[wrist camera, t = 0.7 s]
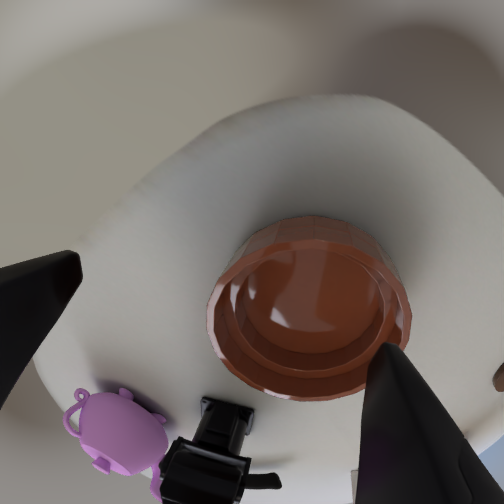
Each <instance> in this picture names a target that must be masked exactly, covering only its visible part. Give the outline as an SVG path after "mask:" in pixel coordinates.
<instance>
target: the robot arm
mask: <svg viewBox="0 0 504 504" xmlns="http://www.w3.org/2000/svg"><path fill="white" fill-rule="evenodd" d="M82 279H83V273H82V267H81V261H80V256H79V254H78V253H76V252H74V251H71V250H65V251H61V252H57V253H53V254H49V255H46V256H42V257H38V258H34V259H31V260H27V261H23V262H20V263H16V264H13V265H10V266H6V267H2V268H0V410H1V408H2V406H3V404H4V402H5V401H6V399H7V397H8V395H9V394H10V392H11V390H12V389H13V387H14V385H15V384H16V382H17V380H18V379H19V377H20V375H21V374H22V372H23V371H24V369H25V367H26V366H27V364H28V363H29V361H30V359H31V358H32V357H33V355H34V354H35V352H36V351H37V349H38V348H39V346H40V345H41V343H42V342H43V340H44V339H45V337H46V336H47V335H48V333H49V332H50V330H51V329H52V328H53V326H54V325H55V323H56V322H57V320H58V319H59V318H60V316H61V314H62V313H63V311H64V309H65V308H66V306H67V304H68V303H69V301H70V300H71V298H72V296H73V295H74V293H75V292H76V290H77V289H78V287H79V285H80V284H81V282H82ZM201 416H202V419H201V421H200V423H199V426H198V428H197V431H196V433H195V435H194V438H193V440H192V441H189V440H186V439H184V438H183V437H180V436H179V437H178V439H177V440H174V441H173V443H172V445H171V447H170V449H169V451H168V452H167V454H166V455H165V456H164V457H163V459H162V460H161V461H160V462H159V465H158V467H159V469H160V477H159V478H160V480H161V481H162V483H161V485H160V488H159V490H160V495H161V499H162V503H163V504H239V503H240V501H241V498H242V495H243V493H244V489H245V486H246V482H247V477H248V473H249V468H250V464H251V459H252V458H249V457H247V458H246V457H242V456H239V454H240V451H241V448H242V444H243V441H244V437H245V435H246V436H247V435H249V433H250V429H251V425H252V420H253V416H254V410H253V409H251V408H246V407H242V406H238V405H233V404H229V403H225V402H222V401H218V400H214V399H210V398H207V397H202V399H201ZM355 504H504V492H503V490H502V489H501V488H500V486H499V485H498V483H497V482H496V481H495V480H494V478H493V477H492V476H491V474H490V473H489V472H488V470H487V469H486V467H485V466H484V465H483V463H482V462H481V461H480V459H479V458H478V456H477V455H476V453H475V452H474V450H473V449H472V447H471V446H470V444H469V443H468V441H467V440H466V439H465V438H464V435H463V434H462V432H461V431H460V429H459V428H458V426H457V425H456V423H455V422H454V421H453V419H452V418H451V416H450V415H449V413H448V412H447V411H446V409H445V408H444V406H443V405H442V403H441V402H440V401H439V399H438V398H437V396H436V395H435V394H434V392H433V391H432V390H431V388H430V387H429V385H428V384H427V383H426V381H425V380H424V379H423V377H422V376H421V375H420V373H419V372H418V371H417V369H416V368H415V367H414V365H413V364H412V363H411V361H410V360H409V359H408V357H407V356H406V355H405V354H404V352H403V351H402V350H401V348H400V347H399V346H398V345H397V344H395V343H390V342H383V343H382V344H381V345H380V346H379V348H378V349H377V351H376V353H375V354H374V356H373V357H372V359H371V360H370V362H369V365H368V368H367V377H366V386H365V394H364V402H363V409H362V419H361V439H360V455H359V468H358V479H357V489H356V497H355Z"/></svg>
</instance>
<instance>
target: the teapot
mask: <svg viewBox="0 0 504 504" xmlns="http://www.w3.org/2000/svg"><path fill="white" fill-rule="evenodd" d="M79 394H83V395H84V398H83V399H81V398H80V397H79ZM74 397H75V399H76V400H77V401H79V402H78V403H76V404H75V405H73V406H72V407H70V408H69V409H68V410H67V411H66V412H65V414H64V416H63V423H64V426H65V428H66V429H67V431H68V432H69V433H70V434H72V435H73V436H75V437H79V439H80V445H81V447H82V448H83V450H84V451H85V452H86V453H88V454H89V455H90V456H91V457H92V458H94V459H95V461H93V462H92V465H93V466H94V467H95V468H96V469H98V470H100V471H101V472H103V473H105V474H109V473H110V469H111V470H113V471H115V472H117V473H120V474H122V475H126V476H131V475H134V474H137V473H139V472H141V471H143V470H145V469H147V468H149V467H150V466H151V468H152V471H153V478H152V481H151V485H150V490H151V493H152V495H153V496H154V497H155V498H156V499H157V500H159V501H160V502H161V503H162V499H161V495H160V490H159V488H160V485H161V483H162V481H161V480H160V478H159V477H160V469H159V467H158V465H159V462H160V461H161V460H162V459H163V457H164V456H165V454H164V453H165V452H166V450H167V448H168V438H167V435H166V433H165V430H164V428H163V426H162V425H161V424H163V423H165V422H166V419H165V418H164V417H163V416H162V415H160V414H157V413H152V414H151V413H149V412H148V411H147V410H145V409H144V408H142V407H141V406H139V405H138V404H136V403H135V402H133V399H134V396H133V394H132V393H131V392H130V391H128V390H127V389H125V388H120V389H119V395H118V394H115V393H110V392H104V393H96V394H92V395H90V394H89V392H88V391H87V390H85V389H82V388H78V389H77V390H76V391H75V393H74ZM81 407H82V410H81V413H80V418H79V432H77V431H75V430H74V429H73V428H72V427H71V426H70V424H69V418H70V416H71V415H72V414H73V413H74V412H75V411H77V410H78V409H80V408H81Z"/></svg>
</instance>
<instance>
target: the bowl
mask: <svg viewBox="0 0 504 504" xmlns="http://www.w3.org/2000/svg"><path fill="white" fill-rule="evenodd" d="M411 320H412V312H411V309H410V305H409V302H408V298H407V295H406V292H405V288H404V286H403V284H402V282H401V279H400V277H399V275H398V273H397V271H396V269H395V266H394V264H393V262H392V260H391V258H390V257H389V255H388V254H387V253H386V252H385V251H384V249H383V248H382V247H381V246H380V245H379V244H378V242H377V241H376V240H375V239H374V238H373V237H372V236H371V235H369V234H367V233H365V232H364V231H362V230H360V229H359V228H357V227H355V226H353V225H351V224H350V223H348V222H345V221H340V220H335V219H330V218H324V217H319V216H306V217H298V218H290V219H283V220H281V221H278V222H276V223H274V224H272V225H270V226H268V227H266V228H264V229H261V230H259V231H257V232H256V233H254V234H253V235H252V236H251V237H250V238H249V239H248V240H247V241H246V242H245V243H244V244H243V245H242V246H241V247H240V248H239V249H238V250H237V251H236V252H235V253H234V255H233V257H232V258H231V260H230V261H229V263H228V265H227V266H226V268H225V269H224V271H223V272H222V274H221V276H220V277H219V279H218V281H217V283H216V285H215V287H214V289H213V292H212V294H211V296H210V298H209V301H208V303H207V323H206V329H207V332H208V335H209V338H210V341H211V343H212V346H213V349H214V351H215V353H216V355H217V356H218V357H219V358H220V360H221V361H222V362H223V363H224V365H225V366H226V367H227V368H228V370H229V371H230V372H231V373H233V374H234V375H235V376H237V377H238V378H240V379H241V380H242V381H244V382H245V383H246V384H248V385H249V386H251V387H253V388H255V389H257V390H260V391H262V392H265V393H267V394H269V395H272V396H274V397H278V398H284V399H289V400H295V401H328V400H333V399H337V398H340V397H344V396H348V395H352V394H354V393H357V392H359V391H361V390H363V389H365V386H366V377H367V368H368V365H369V362H370V360H371V359H372V357H373V356H374V354H375V353H376V351H377V349H378V348H379V346H380V345H381V344H382V343H383V342H390V343H395V344H397V345H398V346H399V347H400V348H401V350H402V351H404V349H405V347H406V345H407V343H408V341H409V336H410V328H411Z"/></svg>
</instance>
